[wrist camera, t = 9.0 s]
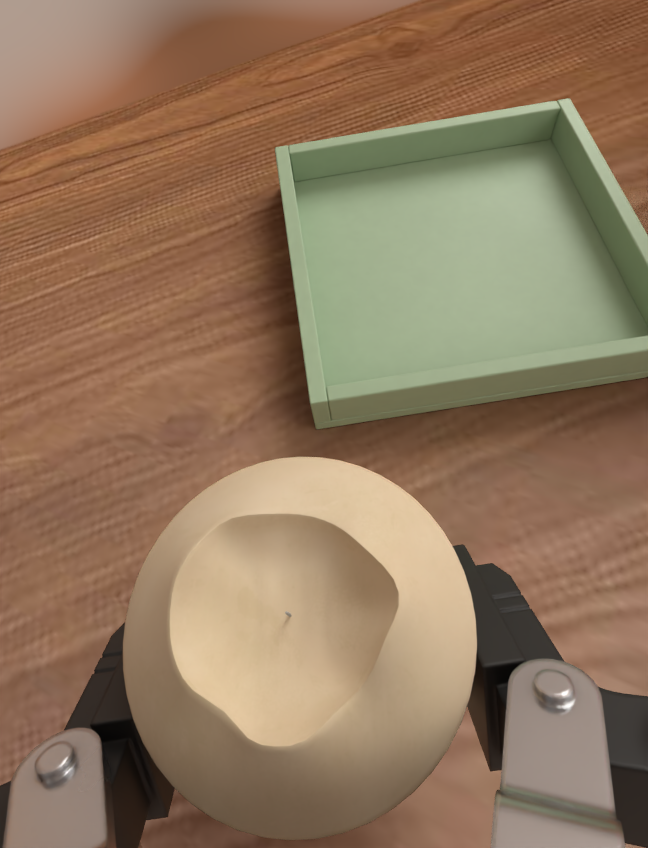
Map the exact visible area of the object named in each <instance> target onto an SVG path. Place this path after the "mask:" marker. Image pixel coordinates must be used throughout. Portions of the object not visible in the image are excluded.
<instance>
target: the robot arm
mask: <svg viewBox="0 0 648 848" xmlns="http://www.w3.org/2000/svg"><path fill="white" fill-rule="evenodd" d="M452 547H453V548H454V550H455V552H456V554H457V557H458V559H459V561H460V563H461V565H462V568H463V570H464V572H465V576H466V579H467V582H468V585H469V589H470V592H471V596H472V601H473V607H474V612H475V618H476V634H477V653H476V667H475V675H474V679H473V684H472V689H471V694H470V698H469V701H468V704H467V707H468V710H469V713H470V715H471V718H472V721H473V724H474V727H475V729H476V732H477V735H478V738H479V741H480V744H481V746H482V749H483V752H484V755H485V758H486V761H487V763H488V766H489V769H490V771H496V770H502V772H501V784H500V790H497V791H496V796H495V803H494V813H493V825H492V837H491V848H625V843H627V844H632V845H637V846H641V847H646V848H648V697H647V696H639V695H631V694H623V693H617V692H612V691H609V690H605V689H602V688H600V687H598V686H597V685H596V684H595V682H594V681H593V680H592V679H591V678H590V677H589V676H588V675H587V674H586V673H585V672H583V671H582V670H580V669H579V668H577V667H575V666H573V665H571V664H569V663H566V662H564V660H563V659H562V657H561V655H560V654H559V652H558V651H557V649H556V648H555V646H554V644H553V643H552V641H551V640H550V638H549V636H548V635H547V633H546V632H545V630H544V628H543V627H542V625H541V624H540V622H539V621H538V619H537V617H536V616H535V614H534V613H533V611H532V609H530V608H529V605H528V603H527V601H526V600H525V598H524V597H523V595H521V592H520V590H519V589H518V587H517V586H516V584H515V582H514V581H513V579H512V578H511V576H510V575H509V574H507V573H506V572H504V571H503V570H501V569H500V568H498V567H497V566H495V565H494V564H493V563H490V564H484V565H477V566H475V564H474V562H473V560H472V558H471V556H470V554H469V553H468V551H467V549H466V547H465V546H464V545H456V546H452ZM124 628H125V623H124V624H123V625H122V626H121V627H120V628H119V629H118V630H117V631H116V632H115V633H114V634H113V635H112V636H111V638H110V640H109V642H108V644H107V646H106V648H105V650H104V652H103V654H102V656H103V657H102V658H100V660H99V662H98V664H97V666H96V668H95V670H94V671H95V673H94V674H92V676H91V678H90V680H89V682H88V684H87V686H86V688H85V690H84V692H83V694H82V696H81V698H80V700H79V702H78V704H77V706H76V708H75V710H74V711H73V713H72V715H71V717H70V719H69V721H68V723H67V725H66V727H65V729H64V731H62V732H60V733H57V734H55V735H53V736H51V737H50V738H48V739H46V740H45V741H43V742H42V743H41V744H39V745H38V746H37V747H36V748H34V749H33V750H32V751H31V752H30V753H29V754H28V755H27V756H26V757H25V758H24V760H23V761H22V762H21V764H20V765H19V766H18V768H17V770H16V771H15V773H14V776H13V778H12V781H10V782H8V783H6V784H3V785H1V786H0V848H142V845H141V843H140V839H141V836H142V832H143V829H144V825H145V822H146V820H151V819H157V818H164V817H168V814H169V809H170V805H171V801H172V797H173V793H174V789H175V788H174V787H173V786H172V785H171V784H170V782H169V781H168V780H167V778H166V777H165V776H164V775H163V773H162V772H161V771H160V770H159V768H158V767H157V766H156V764H155V763H154V761H153V759H152V758H151V756H150V754H149V752H148V751H147V749H146V747H145V745H144V744H143V742H142V739H141V737H140V735H139V732H138V730H137V727H136V725H135V722H134V720H133V717H132V713H131V709H130V706H129V702H128V698H127V694H126V687H125V680H124V672H123V637H124Z"/></svg>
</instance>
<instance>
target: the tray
mask: <svg viewBox="0 0 648 848" xmlns="http://www.w3.org/2000/svg"><path fill="white" fill-rule="evenodd" d="M275 154H276V161H277V168H278V175H279V183H280V190H281V197H282V204H283V212H284V219H285V226H286V233H287V241H288V248H289V255H290V262H291V270H292V277H293V284H294V292H295V299H296V306H297V313H298V321H299V328H300V335H301V342H302V350H303V357H304V364H305V371H306V379H307V386H308V393H309V400H310V406H311V410H312V415H313V419H314V423H315V428H316V429H322V428H329V427H335V426H341V425H348V424H354V423H360V422H367V421H373V420H379V419H386V418H392V417H398V416H405V415H411V414H417V413H424V412H430V411H436V410H443V409H449V408H456V407H462V406H468V405H475V404H481V403H487V402H494V401H500V400H506V399H513V398H519V397H525V396H532V395H538V394H544V393H551V392H557V391H563V390H570V389H576V388H582V387H589V386H595V385H601V384H608V383H614V382H620V381H627V380H633V379H639V378H646V377H648V235H647V233H646V231H645V230H644V228H643V226H642V224H641V223H640V221H639V219H638V217H637V216H636V214H635V212H634V210H633V209H632V207H631V205H630V203H629V202H628V200H627V198H626V196H625V195H624V193H623V191H622V189H621V188H620V186H619V184H618V182H617V180H616V179H615V177H614V175H613V173H612V172H611V170H610V168H609V166H608V165H607V163H606V161H605V159H604V158H603V156H602V154H601V152H600V151H599V149H598V147H597V145H596V144H595V142H594V140H593V138H592V137H591V135H590V133H589V131H588V130H587V128H586V126H585V124H584V123H583V121H582V119H581V117H580V115H579V114H578V112H577V110H576V108H575V107H574V105H573V103H572V101H571V100H570V99H569V98H568V99H562V100H558V101H550V102H544V103H538V104H532V105H526V106H520V107H514V108H508V109H503V110H497V111H491V112H485V113H479V114H473V115H467V116H461V117H455V118H449V119H443V120H437V121H431V122H425V123H419V124H413V125H407V126H401V127H395V128H389V129H383V130H377V131H371V132H365V133H360V134H354V135H348V136H342V137H336V138H330V139H324V140H318V141H312V142H306V143H300V144H294V145H289V147H288V146H281V147H276V148H275Z"/></svg>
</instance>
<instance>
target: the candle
mask: <svg viewBox="0 0 648 848" xmlns="http://www.w3.org/2000/svg"><path fill="white" fill-rule="evenodd" d="M476 653H477V634H476V618H475V612H474V607H473V601H472V596H471V592H470V589H469V585H468V582H467V579H466V576H465V572H464V570H463V568H462V565H461V563H460V561H459V559H458V557H457V554H456V552H455V550H454V548H453V547H452V545H451V543H450V542H449V540H448V538H447V537H446V535H445V533H444V532H443V530H442V529H441V528H440V526H439V525H438V524H437V523H436V521H435V520H434V519H433V518H432V516H431V515H430V514H429V513H428V512H427V511H426V510H425V509H424V508H423V507H422V506H421V505H420V504H419V503H418V502H417V501H416V500H415V499H414V498H413V497H412V496H411V495H409V494H408V493H407V492H405V491H404V490H403V489H401V488H400V487H399V486H398V485H396V484H394V483H393V482H391V481H389V480H388V479H386V478H384V477H383V476H381V475H379V474H377V473H375V472H372V471H370V470H368V469H365V468H363V467H361V466H358V465H354V464H351V463H347V462H344V461H340V460H334V459H328V458H321V457H291V458H280V459H276V460H271V461H266V462H261V463H258V464H255V465H252V466H249V467H247V468H244V469H241V470H239V471H237V472H235V473H233V474H230V475H228V476H226V477H224V478H222V479H221V480H219V481H218V482H216V483H214V484H213V485H211V486H210V487H208V488H206V489H205V490H204V491H203V492H201V493H200V494H199V495H197V496H196V497H195V498H194V499H192V500H191V501H190V502H189V503H188V504H187V505H186V506H185V507H184V508H183V509H182V510H181V511H180V512H179V513H178V514H177V515H176V516H175V517H174V518H173V519H172V521H171V522H170V523H169V524H168V526H167V527H166V528H165V529H164V531H163V532H162V533H161V534H160V536H159V537H158V539H157V541H156V542H155V544H154V545H153V547H152V549H151V550H150V552H149V553H148V555H147V557H146V560H145V562H144V564H143V566H142V568H141V570H140V572H139V574H138V577H137V580H136V583H135V585H134V588H133V591H132V594H131V597H130V602H129V606H128V610H127V615H126V619H125V628H124V637H123V672H124V680H125V687H126V694H127V698H128V702H129V706H130V709H131V713H132V717H133V720H134V722H135V725H136V727H137V730H138V732H139V735H140V737H141V739H142V742H143V744H144V745H145V747H146V749H147V751H148V752H149V754H150V756H151V758H152V759H153V761H154V763H155V764H156V766H157V767H158V768H159V770H160V771H161V772H162V773H163V775H164V776H165V777H166V778H167V780H168V781H169V782H170V784H171V785H172V786H173V787H174V788H175V789H176V790H177V791H178V792H179V793H180V794H182V795H183V796H184V797H185V798H186V799H187V800H188V801H189V802H190V803H191V804H193V805H194V806H195V807H197V808H198V809H200V810H201V811H203V812H204V813H206V814H207V815H209V816H210V817H212V818H213V819H215V820H217V821H219V822H221V823H223V824H226V825H228V826H230V827H232V828H234V829H236V830H239V831H243V832H246V833H250V834H253V835H257V836H260V837H265V838H273V839H282V840H306V839H319V838H323V837H328V836H332V835H337V834H342V833H345V832H347V831H350V830H352V829H355V828H358V827H360V826H363V825H365V824H368V823H370V822H371V821H373V820H375V819H377V818H378V817H380V816H382V815H383V814H385V813H387V812H388V811H390V810H392V809H393V808H395V807H396V806H397V805H398V804H399V803H401V802H402V801H403V800H404V799H406V798H407V797H408V796H409V795H410V794H412V793H413V792H414V791H415V790H416V789H417V788H418V787H419V786H420V785H421V784H422V782H423V781H424V780H425V779H426V778H427V777H428V776H429V775H430V774H431V773H432V771H433V770H434V769H435V767H436V766H437V764H438V763H439V761H440V760H441V759H442V757H443V756H444V754H445V753H446V751H447V750H448V748H449V746H450V744H451V742H452V740H453V738H454V736H455V734H456V732H457V730H458V728H459V726H460V724H461V722H462V719H463V716H464V713H465V710H466V707H467V704H468V701H469V698H470V694H471V689H472V684H473V679H474V675H475V667H476Z"/></svg>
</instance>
